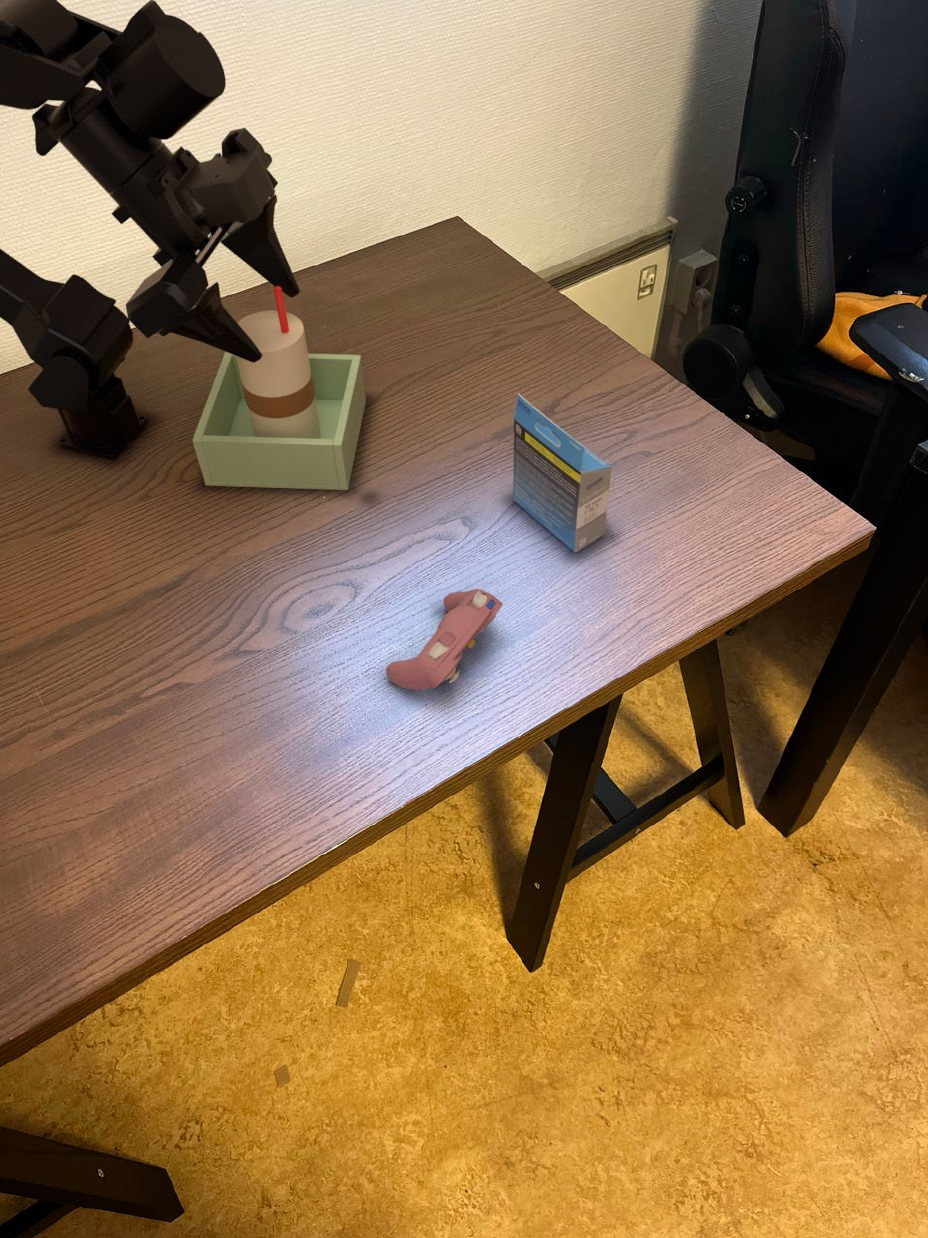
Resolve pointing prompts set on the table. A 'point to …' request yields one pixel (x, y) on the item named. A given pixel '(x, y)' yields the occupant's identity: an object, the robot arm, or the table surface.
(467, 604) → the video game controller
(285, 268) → the robot arm
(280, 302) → the straw cup
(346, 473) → the bin
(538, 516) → the label tape box
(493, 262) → the table surface
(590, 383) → the table surface
